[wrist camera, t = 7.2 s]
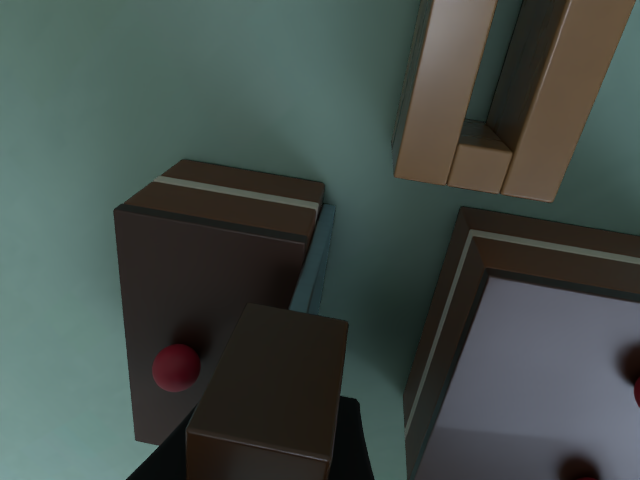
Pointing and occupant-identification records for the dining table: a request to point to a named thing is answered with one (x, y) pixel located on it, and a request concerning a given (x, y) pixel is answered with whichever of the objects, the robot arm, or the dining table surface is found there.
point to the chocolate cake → (528, 356)
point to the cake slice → (202, 275)
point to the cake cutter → (274, 386)
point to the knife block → (503, 94)
